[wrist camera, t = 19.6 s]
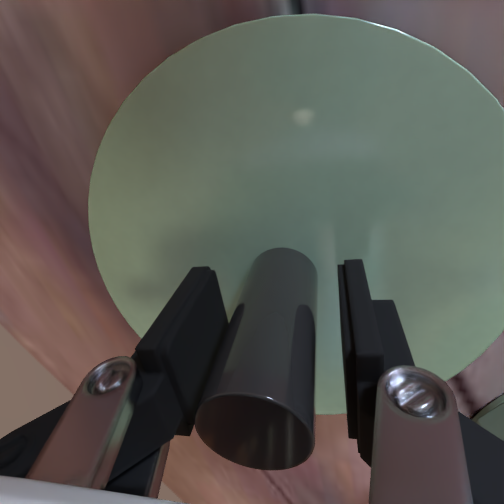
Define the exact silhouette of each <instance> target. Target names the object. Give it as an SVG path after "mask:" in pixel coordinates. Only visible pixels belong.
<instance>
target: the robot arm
mask: <svg viewBox="0 0 504 504" xmlns="http://www.w3.org/2000/svg"><path fill="white" fill-rule="evenodd" d="M338 286H339V307H340V327H341V343H342V357H343V370H344V383H345V397H346V410H347V423H348V436H349V438H351V439H357V444H358V453H360V457H361V458H362V459H363V460H364V461H365V462H366V463H367V464H368V465H369V466H370V467H371V478H370V492H369V504H504V441H503V440H501V439H500V438H498V437H497V436H495V435H494V434H492V433H491V432H489V431H487V430H486V429H484V428H483V427H481V426H480V425H478V424H477V423H475V422H474V421H472V420H471V419H469V418H468V417H466V416H464V415H463V414H461V413H460V412H458V409H457V403H456V399H455V396H454V394H453V391H452V390H451V388H450V387H449V386H448V385H447V383H446V382H445V381H444V380H442V379H441V378H440V377H439V376H437V375H436V374H434V373H432V372H430V371H428V370H426V369H423V368H420V367H416V366H415V364H414V361H413V357H412V354H411V351H410V348H409V345H408V342H407V339H406V336H405V333H404V330H403V327H402V324H401V321H400V318H399V315H398V312H397V309H396V306H395V303H394V301H393V300H372V299H371V295H370V290H369V286H368V282H367V277H366V273H365V269H364V264H363V260H362V259H350V260H344V264H338ZM228 325H229V322H228V318H227V314H226V310H225V306H224V303H223V299H222V295H221V291H220V287H219V283H218V279H217V275H216V272H215V270H211V269H210V267H209V266H201V267H192V268H191V270H190V271H189V272H188V274H187V275H186V277H185V278H184V280H183V281H182V282H181V284H180V285H179V287H178V288H177V289H176V291H175V292H174V294H173V295H172V297H171V298H170V299H169V301H168V302H167V304H166V305H165V307H164V308H163V309H162V311H161V312H160V314H159V315H158V317H157V318H156V319H155V321H154V322H153V324H152V325H151V326H150V328H149V329H148V331H147V332H146V334H145V335H144V336H143V338H142V339H141V341H140V342H139V344H138V345H137V346H136V348H135V350H136V351H135V352H134V354H133V355H132V357H131V358H130V357H127V356H118V357H114V358H110V359H108V360H106V361H104V362H102V363H100V364H99V365H97V366H96V367H94V368H93V369H92V370H91V371H90V372H89V373H88V374H87V375H86V377H85V378H84V379H83V381H82V382H81V384H80V386H79V388H78V389H77V391H76V393H75V394H74V396H73V398H72V399H71V400H70V401H68V402H66V403H64V404H62V405H61V406H59V407H57V408H55V409H53V410H51V411H50V412H48V413H46V414H44V415H42V416H40V417H38V418H36V419H34V420H33V421H31V422H29V423H27V424H25V425H23V426H22V427H20V428H18V429H16V430H14V431H12V432H11V433H9V434H7V435H6V436H4V437H3V438H1V439H0V504H187V503H181V502H175V501H168V500H162V499H157V498H158V494H159V490H160V485H161V481H162V477H163V473H164V468H165V464H166V460H167V455H168V451H169V446H170V440H171V439H173V438H174V435H182V436H190V434H191V432H192V429H193V426H194V425H195V423H194V415H195V411H196V408H197V406H198V403H199V400H200V398H201V395H202V393H203V390H204V387H205V385H206V382H207V380H208V377H209V374H210V372H211V369H212V367H213V364H214V361H215V359H216V356H217V354H218V351H219V348H220V346H221V343H222V341H223V338H224V335H225V333H226V330H227V328H228Z"/></svg>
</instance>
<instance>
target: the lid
mask: <svg viewBox="0 0 504 504" xmlns="http://www.w3.org/2000/svg"><path fill="white" fill-rule="evenodd" d="M88 220H89V231H90V237H91V243H92V249H93V252H94V256H95V259H96V263H97V266H98V269H99V272H100V274H101V277H102V279H103V281H104V284H105V286H106V288H107V290H108V292H109V294H110V296H111V298H112V299H113V301H114V303H115V305H116V306H117V308H118V310H119V311H120V313H121V314H122V315H123V317H124V318H125V320H126V321H127V322H128V324H129V325H130V326H131V328H132V329H133V330H134V331H135V332H136V333H137V334H138V336H139V337H140V338H141V339H142V338H143V336H144V335H145V334H146V332H147V331H148V329H149V328H150V326H151V325H152V324H153V322H154V321H155V319H156V318H157V317H158V315H159V314H160V312H161V311H162V309H163V308H164V307H165V305H166V304H167V302H168V301H169V299H170V298H171V297H172V295H173V294H174V292H175V291H176V289H177V288H178V287H179V285H180V284H181V282H182V281H183V280H184V278H185V277H186V275H187V274H188V272H189V271H190V270H191V268H192V267H201V266H209V267H210V269H211V270H215V272H216V275H217V279H218V283H219V287H220V291H221V295H222V299H223V303H224V306H225V310H226V314H227V318H228V322H229V325H228V328H227V330H226V333H225V335H224V338H223V341H222V343H221V346H220V348H219V351H218V354H217V356H216V359H215V361H214V364H213V367H212V369H211V372H210V374H209V377H208V380H207V382H206V385H205V387H204V390H203V393H202V395H201V398H200V400H199V403H198V406H197V408H196V411H195V415H194V423H195V428H196V431H197V433H198V435H199V436H200V438H201V439H202V440H203V442H204V443H205V444H206V445H207V446H208V447H209V448H211V449H212V450H213V451H214V452H216V453H217V454H219V455H220V456H222V457H224V458H226V459H228V460H230V461H232V462H234V463H237V464H239V465H242V466H246V467H249V468H254V469H260V470H284V469H289V468H292V467H295V466H298V465H300V464H302V463H303V462H305V461H306V460H307V459H308V458H309V457H310V455H311V454H312V452H313V449H314V447H315V422H316V415H333V414H345V413H347V410H346V397H345V383H344V370H343V357H342V343H341V327H340V307H339V286H338V264H344V260H350V259H362V260H363V264H364V269H365V273H366V277H367V282H368V286H369V290H370V295H371V299H372V300H393V301H394V303H395V306H396V309H397V312H398V315H399V318H400V321H401V324H402V327H403V330H404V333H405V336H406V339H407V342H408V345H409V348H410V351H411V354H412V357H413V361H414V364H415V366H416V367H420V368H423V369H426V370H428V371H430V372H432V373H434V374H436V375H437V376H439V377H440V378H441V379H442V380H444V381H447V380H448V379H450V378H452V377H453V376H455V375H456V374H458V373H459V372H461V371H462V370H464V369H465V368H466V367H467V366H468V365H470V364H471V363H472V362H473V361H474V360H476V359H477V358H478V357H479V356H480V355H482V354H483V353H484V352H485V351H486V350H487V349H488V347H489V346H490V345H491V344H492V343H493V342H494V341H495V340H496V339H497V338H498V337H499V336H500V334H501V333H502V332H503V330H504V109H503V107H502V106H501V104H500V103H499V101H498V100H497V98H496V97H495V96H494V95H493V94H492V93H491V92H490V91H489V90H488V89H487V88H486V87H485V86H484V85H483V84H482V83H481V82H480V81H479V80H478V79H477V78H476V77H475V76H474V75H473V74H472V73H471V72H470V71H469V70H467V69H466V68H464V67H463V66H462V65H460V64H459V63H457V62H456V61H454V60H453V59H452V58H450V57H449V56H447V55H446V54H444V53H443V52H442V51H440V50H439V49H437V48H436V47H434V46H432V45H430V44H428V43H425V42H423V41H421V40H419V39H417V38H415V37H413V36H411V35H408V34H406V33H404V32H402V31H400V30H398V29H394V28H391V27H387V26H384V25H380V24H376V23H373V22H369V21H366V20H362V19H358V18H352V17H343V16H334V15H324V14H296V15H278V16H270V17H266V18H261V19H257V20H252V21H248V22H243V23H238V24H235V25H232V26H229V27H227V28H224V29H222V30H219V31H217V32H214V33H212V34H209V35H207V36H204V37H202V38H200V39H198V40H196V41H194V42H193V43H191V44H189V45H188V46H186V47H184V48H183V49H181V50H179V51H178V52H176V53H174V54H173V55H171V56H169V57H168V58H167V59H166V60H165V61H163V62H162V63H161V64H160V65H159V66H157V67H156V68H155V69H154V70H153V71H151V72H150V73H149V74H148V75H147V76H145V77H144V78H143V80H142V81H141V82H140V83H139V84H138V85H137V86H136V88H135V89H134V90H133V91H132V92H131V93H130V95H129V96H128V97H127V98H126V99H125V100H124V102H123V103H122V105H121V106H120V108H119V110H118V111H117V113H116V114H115V116H114V118H113V119H112V121H111V122H110V124H109V126H108V128H107V130H106V132H105V135H104V137H103V139H102V142H101V144H100V146H99V149H98V151H97V155H96V158H95V162H94V166H93V170H92V174H91V179H90V188H89V197H88Z"/></svg>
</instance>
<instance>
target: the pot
mask: <svg viewBox="0 0 504 504" xmlns="http://www.w3.org/2000/svg"><path fill="white" fill-rule="evenodd" d="M471 420H472V421H474V422H475V423H477V424H478V425H480V426H481V427H483V428H484V429H486V430H487V431H489V432H491V433H492V434H494V435H495V436H497V437H498V438H500V439H501V440H503V441H504V394H503V395H501V396H500V397H498V398H497V399H496V400H494V401H493V402H491V403H490V404H489V405H487V406H486V407H484V408H483V409H482V410H481V411H480V412H479V413H478V414H477V415H476V416H475V417H473V418H472V419H471Z"/></svg>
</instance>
